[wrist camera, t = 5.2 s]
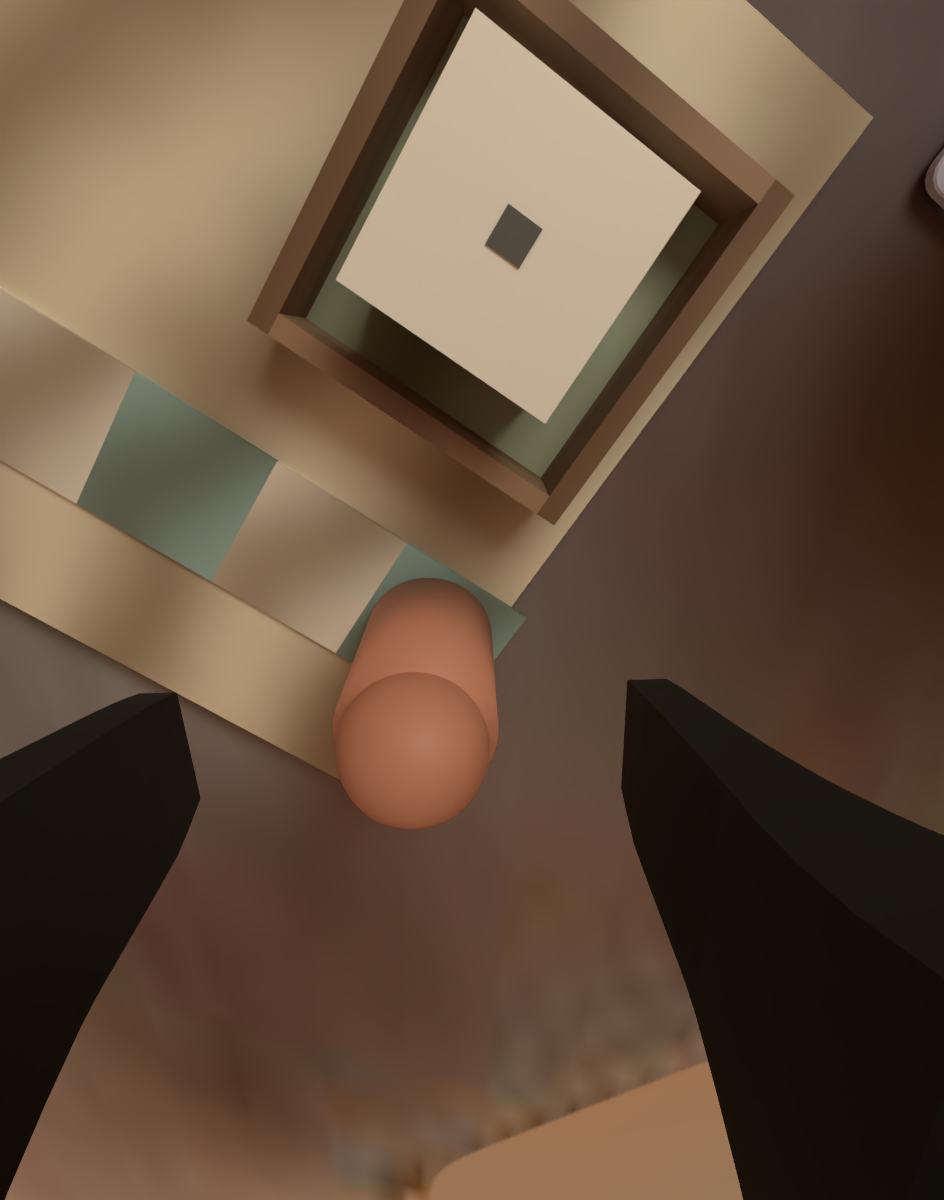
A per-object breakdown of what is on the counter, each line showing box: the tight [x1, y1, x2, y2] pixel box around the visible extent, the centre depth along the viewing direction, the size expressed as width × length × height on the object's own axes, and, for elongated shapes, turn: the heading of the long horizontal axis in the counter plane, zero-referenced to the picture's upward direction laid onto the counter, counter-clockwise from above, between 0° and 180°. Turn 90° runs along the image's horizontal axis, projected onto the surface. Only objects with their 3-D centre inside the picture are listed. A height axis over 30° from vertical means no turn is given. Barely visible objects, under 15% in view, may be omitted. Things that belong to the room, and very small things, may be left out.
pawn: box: [333, 578, 498, 829], centre depth 15 cm, size 4×4×7 cm
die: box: [336, 8, 701, 423], centre depth 13 cm, size 4×4×5 cm
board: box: [0, 0, 873, 780], centre depth 15 cm, size 18×22×4 cm
